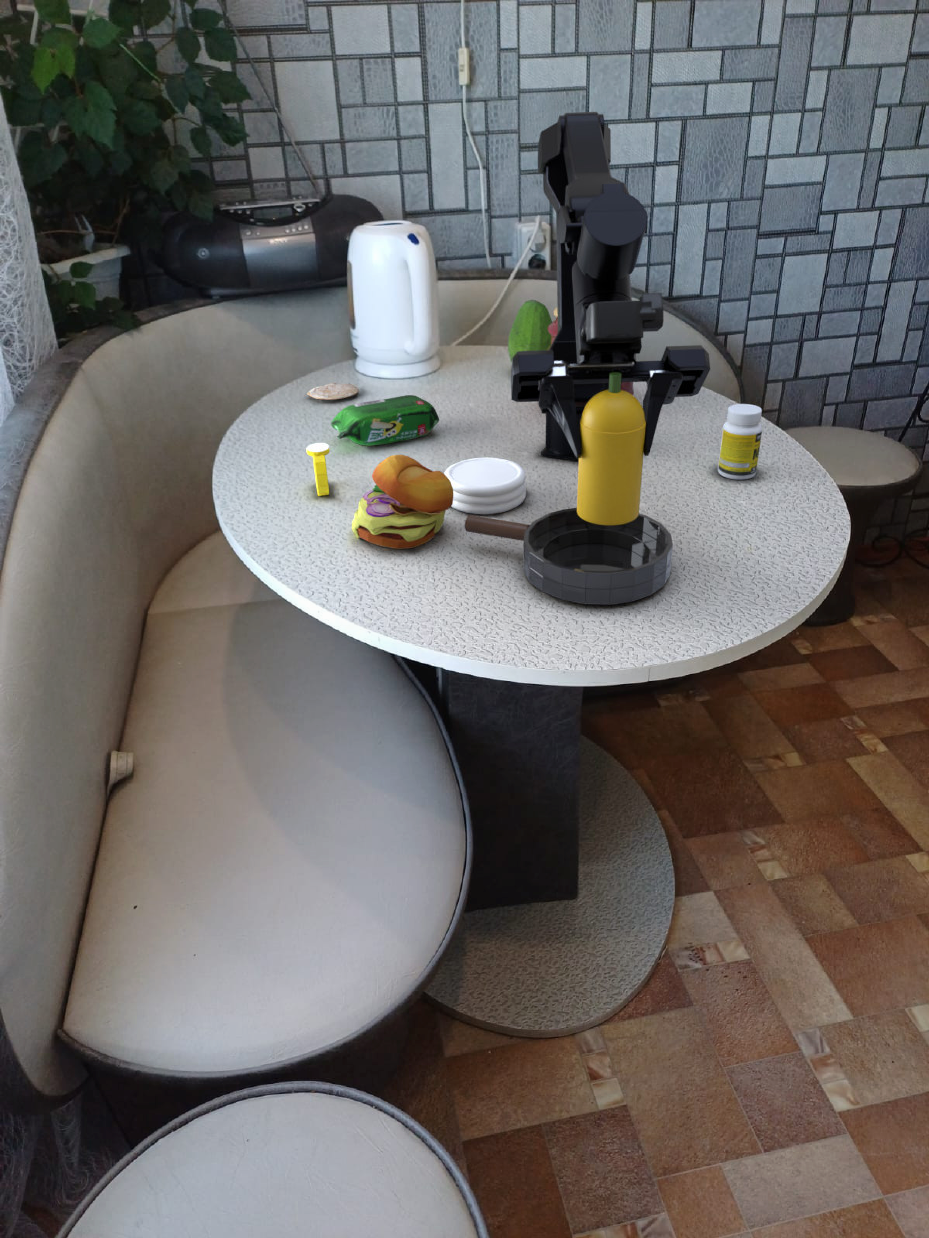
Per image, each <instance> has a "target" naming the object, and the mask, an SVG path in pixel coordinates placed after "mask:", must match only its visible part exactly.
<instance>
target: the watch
mask: <svg viewBox="0 0 929 1238" xmlns="http://www.w3.org/2000/svg"><path fill="white" fill-rule="evenodd" d="M305 450H306V454H307V455H308V456H309V457H312V462H313V463H312V464H313V471H314V478H315V485H316V491H317V496H318V497H322V496H329V495H330V487H329V478H328V470H327V469H328V467H327V461H326V456H327V455H329V453H330V451H331V449H330V445H329V444H327V443H325V442H315V443H312V444H309V445H307V446H306V449H305Z"/></svg>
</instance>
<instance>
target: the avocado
mask: <svg viewBox="0 0 929 1238" xmlns="http://www.w3.org/2000/svg"><path fill="white" fill-rule="evenodd" d="M517 311H518V312H517V314H516V316H515V319H514V321H513V323H512V326H511V328H510V331H509V335H508V344H507V352H508V356H509V359H510V362H511V363H512V358H513V356H514V355H515V354H516V353H517V352H518V351H540V350H548V348H549V347H550V345H551V335H550V333H549V332H548V326H549V325H550V324H551V323H552V322H553V320H552V317H551V315H550V311H549V309H548V308H547V306H546V305H545V304H544V303H542V302H540V301H538V300H535V299H531V300H526V301H524V302H523V304H522V306H520V308H519V310H517Z"/></svg>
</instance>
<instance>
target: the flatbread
mask: <svg viewBox="0 0 929 1238" xmlns="http://www.w3.org/2000/svg"><path fill="white" fill-rule="evenodd" d="M359 392H360V389H359V387H357V385H354V384H353V383H341V382H339V383H338V382H337V383H336V382H330V383H327V384H323V385H320V386H315V387H312V388H311V389H310V390H309V391H308V392H306V393H307V394H306V395H307V396H308V397H311V398H313V399H315V400H325V401H333V400H341V399H346V398H350V397H353V396H355V395H356V394H358V393H359Z"/></svg>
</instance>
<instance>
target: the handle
mask: <svg viewBox="0 0 929 1238" xmlns="http://www.w3.org/2000/svg"><path fill="white" fill-rule="evenodd" d="M529 526H530V524H529V523H521V522H517V521H509V520H503V519H497V518H492V517H485V516H480V515H479V516H478V515H474V514H473V515H472V514H469V515H467V516H466V518H465V520H464V530H465V531H466V532H467V533H473V534H480V535H485V536H492V537H498V538H502V539H510V540H516V541H520V542H521V541H522V542H524V532H525V530H526V529H527V528H528V527H529Z"/></svg>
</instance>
